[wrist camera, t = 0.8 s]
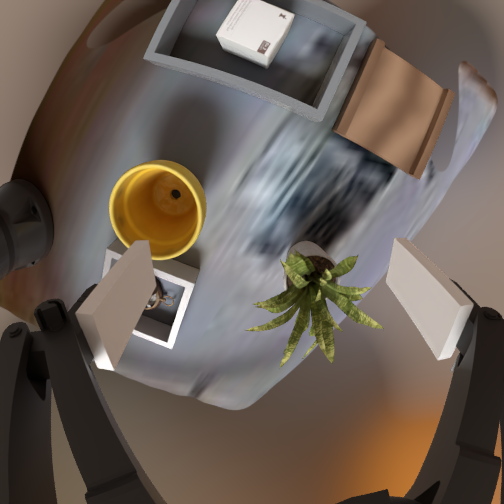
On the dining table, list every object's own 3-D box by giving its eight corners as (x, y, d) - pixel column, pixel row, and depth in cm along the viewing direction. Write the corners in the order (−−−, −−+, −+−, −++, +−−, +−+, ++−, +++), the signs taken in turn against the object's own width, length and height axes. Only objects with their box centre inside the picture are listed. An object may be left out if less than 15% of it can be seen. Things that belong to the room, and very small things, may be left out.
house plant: (224, 247, 40) (205, 321, 25) (305, 182, 36) (337, 225, 22) (288, 313, 45) (298, 397, 30) (363, 260, 41) (408, 331, 26)
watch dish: (107, 304, 45) (97, 318, 41) (118, 237, 40) (106, 248, 36) (177, 333, 47) (171, 349, 43) (199, 269, 42) (194, 284, 38)
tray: (331, 130, 33) (336, 130, 31) (370, 42, 28) (377, 38, 26) (411, 176, 35) (419, 179, 33) (445, 94, 30) (455, 93, 28)
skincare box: (245, 14, 27) (242, -9, 21) (289, 33, 28) (296, 13, 22) (222, 51, 30) (214, 35, 23) (267, 70, 31) (269, 57, 24)
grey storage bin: (157, 65, 30) (143, 58, 26) (201, -21, 25) (194, -37, 20) (313, 121, 33) (322, 121, 29) (353, 33, 28) (366, 22, 23)
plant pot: (229, 172, 36) (219, 189, 27) (197, 241, 40) (181, 276, 31) (156, 141, 34) (124, 148, 25) (131, 211, 38) (98, 237, 29)
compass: (127, 302, 45) (110, 329, 38) (128, 259, 42) (108, 284, 35) (173, 315, 45) (161, 344, 39) (178, 272, 42) (165, 300, 36)
